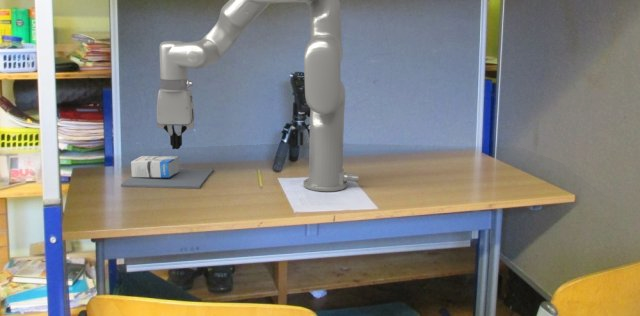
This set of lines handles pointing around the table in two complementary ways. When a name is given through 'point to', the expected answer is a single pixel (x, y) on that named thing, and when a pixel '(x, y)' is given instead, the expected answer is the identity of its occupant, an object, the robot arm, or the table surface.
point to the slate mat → (172, 179)
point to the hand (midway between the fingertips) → (176, 148)
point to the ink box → (155, 166)
